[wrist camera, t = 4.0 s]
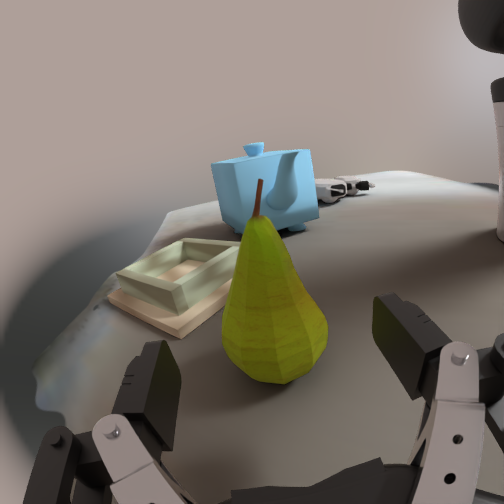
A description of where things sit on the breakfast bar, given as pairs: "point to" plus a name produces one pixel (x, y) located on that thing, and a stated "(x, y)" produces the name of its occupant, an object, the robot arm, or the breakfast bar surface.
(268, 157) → the teapot
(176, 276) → the tray
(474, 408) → the robot arm
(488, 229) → the breakfast bar surface
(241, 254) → the fruit
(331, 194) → the robot toy
